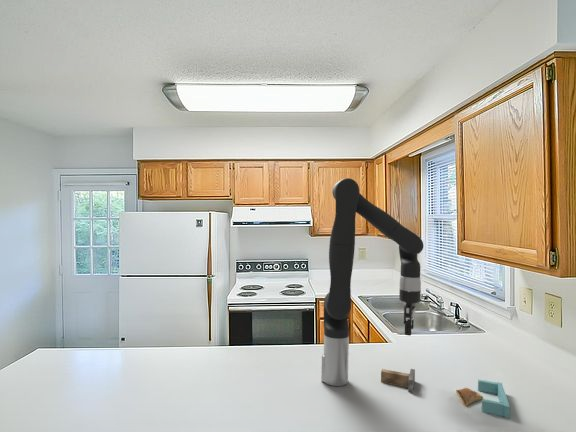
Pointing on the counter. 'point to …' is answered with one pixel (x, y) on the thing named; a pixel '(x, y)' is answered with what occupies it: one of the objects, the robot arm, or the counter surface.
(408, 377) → the hammer
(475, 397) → the shard
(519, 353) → the counter surface
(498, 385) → the u-shaped bracket
